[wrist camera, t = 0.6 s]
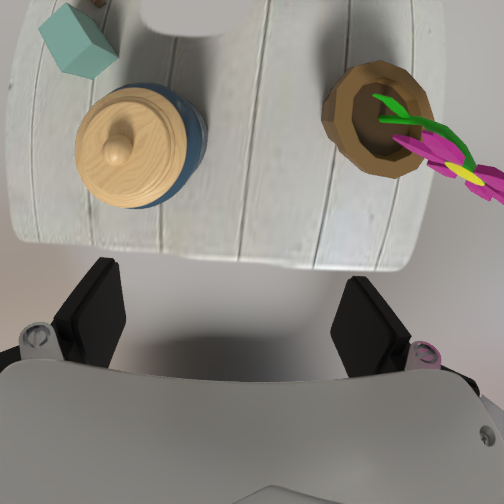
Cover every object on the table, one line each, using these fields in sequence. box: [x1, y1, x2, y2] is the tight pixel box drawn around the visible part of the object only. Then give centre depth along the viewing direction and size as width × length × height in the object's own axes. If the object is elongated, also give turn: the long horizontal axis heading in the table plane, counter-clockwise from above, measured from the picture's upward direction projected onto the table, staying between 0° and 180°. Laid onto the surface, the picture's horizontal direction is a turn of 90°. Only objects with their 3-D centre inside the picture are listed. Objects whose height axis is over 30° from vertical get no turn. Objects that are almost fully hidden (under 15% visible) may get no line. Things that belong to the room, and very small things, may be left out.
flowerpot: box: [321, 60, 504, 205], centre depth 21 cm, size 14×14×30 cm
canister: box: [75, 82, 207, 209], centre depth 26 cm, size 13×13×18 cm
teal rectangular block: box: [38, 3, 119, 80], centre depth 22 cm, size 5×10×9 cm, turn 31°
